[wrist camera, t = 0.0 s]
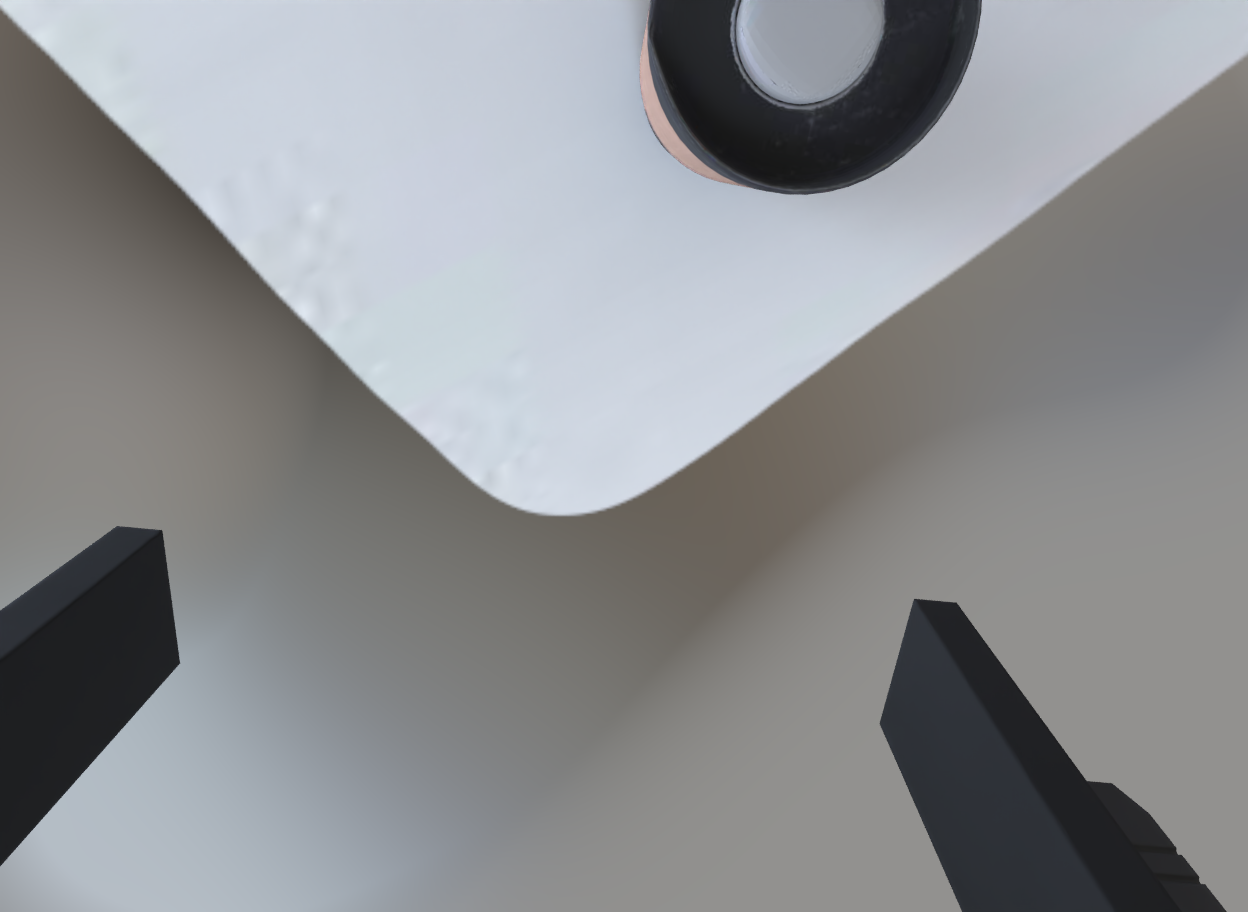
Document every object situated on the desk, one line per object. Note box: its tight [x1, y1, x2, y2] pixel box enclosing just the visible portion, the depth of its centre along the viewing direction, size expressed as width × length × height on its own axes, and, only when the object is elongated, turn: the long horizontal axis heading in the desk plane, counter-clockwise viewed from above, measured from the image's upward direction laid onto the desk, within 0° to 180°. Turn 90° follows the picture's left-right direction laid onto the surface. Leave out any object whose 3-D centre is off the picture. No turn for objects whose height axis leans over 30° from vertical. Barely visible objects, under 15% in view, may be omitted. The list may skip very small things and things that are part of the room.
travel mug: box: [640, 0, 982, 195], centre depth 26 cm, size 8×8×20 cm
